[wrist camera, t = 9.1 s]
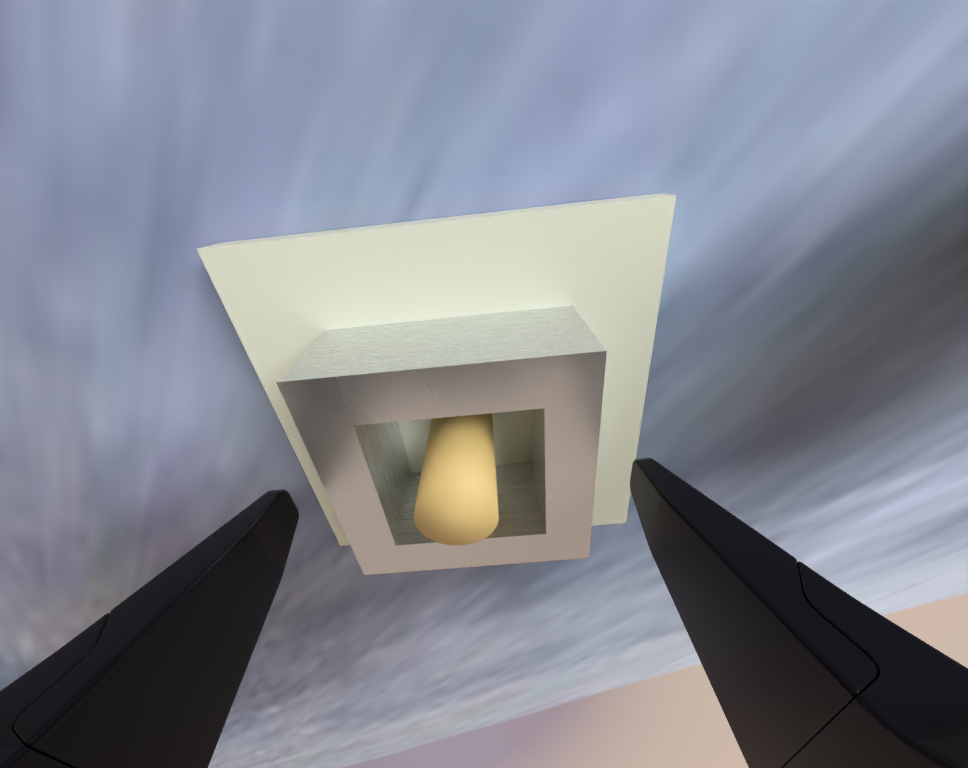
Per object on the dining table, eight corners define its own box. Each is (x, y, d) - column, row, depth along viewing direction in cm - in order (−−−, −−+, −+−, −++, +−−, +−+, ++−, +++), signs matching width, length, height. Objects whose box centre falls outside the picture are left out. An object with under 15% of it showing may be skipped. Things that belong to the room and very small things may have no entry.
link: (572, 305, 10) (606, 350, 7) (567, 484, 13) (588, 557, 11) (327, 329, 10) (275, 382, 8) (385, 499, 14) (363, 575, 11)
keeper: (658, 193, 9) (810, 207, 5) (617, 503, 15) (671, 630, 11) (221, 242, 10) (22, 293, 6) (347, 525, 16) (299, 656, 12)
